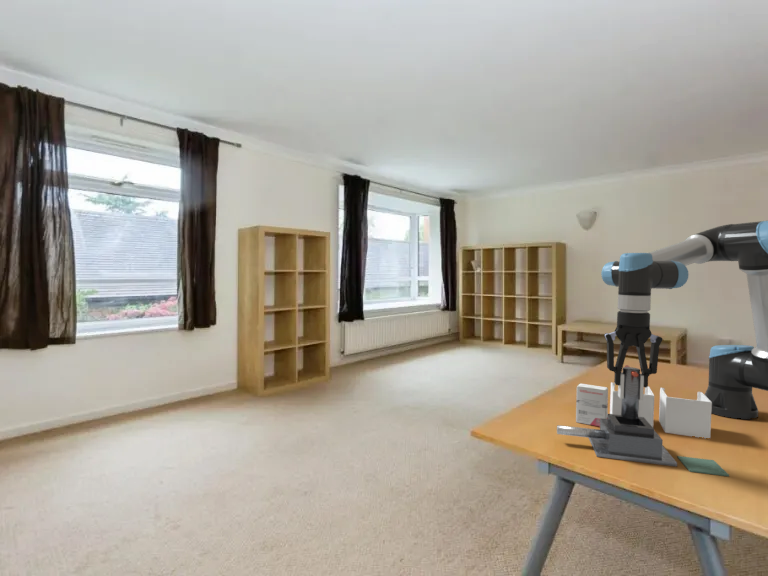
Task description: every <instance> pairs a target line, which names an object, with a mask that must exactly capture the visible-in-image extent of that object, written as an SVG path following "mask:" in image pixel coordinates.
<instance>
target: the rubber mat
mask: <svg viewBox="0 0 768 576" xmlns="http://www.w3.org/2000/svg"><path fill="white" fill-rule="evenodd" d="M676 457H677V459H678V460H679V461H680V462H681V464H682V465H683V466H684V467H685V469H687V470H688V472H690V473H691V472H692V473H698V474H707V475H714V476H715V475H716V476H722V477H729V478H730V474H729V473H728V472H727V471H726V470H725V469H724V468H723V467H721V466H720V465H719V464H718V463H717V462H716V461H715V460H713V459H707V458H699V457H690V456H681V455H677V456H676Z"/></svg>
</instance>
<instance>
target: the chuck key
mask: <svg viewBox="0 0 768 576" xmlns="http://www.w3.org/2000/svg"><path fill="white" fill-rule="evenodd" d="M622 373H623V374H624V398H623V399H622V403H621V416H622V417H624V418H627V419H638V412H639V386H640V374H641V368H637V367H632V366H630V365H628V364H627V365H624V366H623V368H622Z"/></svg>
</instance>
